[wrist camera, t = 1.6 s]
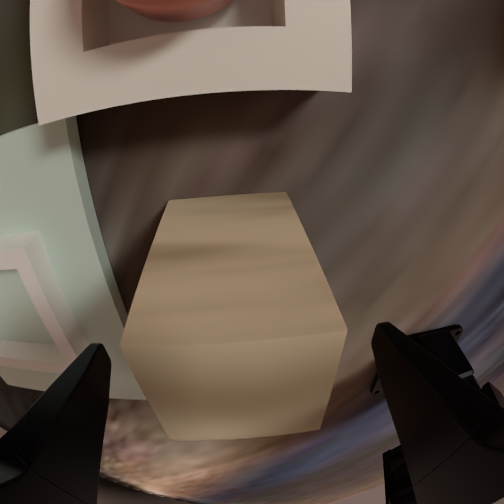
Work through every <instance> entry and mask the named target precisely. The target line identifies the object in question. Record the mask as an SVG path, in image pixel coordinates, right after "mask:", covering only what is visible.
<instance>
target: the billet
mask: <svg viewBox="0 0 504 504" xmlns="http://www.w3.org/2000/svg"><path fill="white" fill-rule="evenodd" d="M347 331H348V330H347V327H346V325H345V322H344V320H343V318H342V315H341V313H340V310H339V308H338V306H337V303H336V301H335V298H334V296H333V294H332V291H331V289H330V287H329V284H328V282H327V280H326V278H325V275H324V273H323V271H322V268H321V266H320V264H319V262H318V259H317V257H316V255H315V253H314V250H313V248H312V246H311V244H310V242H309V239H308V237H307V235H306V233H305V231H304V229H303V226H302V224H301V222H300V220H299V218H298V216H297V214H296V211H295V209H294V207H293V205H292V203H291V201H290V199H289V197H288V195H287V193H286V192H278V193H260V194H244V195H229V196H216V197H204V198H192V199H181V200H170V201H168V203H167V206H166V208H165V211H164V213H163V216H162V219H161V221H160V224H159V226H158V229H157V232H156V235H155V237H154V240H153V243H152V245H151V248H150V251H149V254H148V257H147V260H146V262H145V265H144V268H143V271H142V274H141V277H140V280H139V283H138V286H137V289H136V292H135V296H134V299H133V302H132V305H131V308H130V312H129V315H128V318H127V322H126V325H125V328H124V332H123V335H122V339H121V342H120V348H121V350H122V352H123V354H124V357H125V359H126V361H127V363H128V365H129V367H130V369H131V371H132V373H133V375H134V377H135V379H136V381H137V382H138V384H139V386H140V388H141V390H142V392H143V394H144V396H145V397H146V399H147V401H148V403H149V405H150V406H151V408H152V410H153V412H154V413H155V415H156V417H157V419H158V420H159V422H160V424H161V425H162V427H163V429H164V430H165V432H166V434H167V435H168V437H169V439H170V440H228V439H245V438H258V437H268V436H278V435H286V434H294V433H301V432H308V431H314V430H320V427H321V424H322V421H323V418H324V415H325V412H326V408H327V405H328V402H329V398H330V395H331V392H332V388H333V385H334V381H335V378H336V374H337V370H338V367H339V363H340V359H341V355H342V351H343V347H344V343H345V339H346V335H347Z"/></svg>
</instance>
